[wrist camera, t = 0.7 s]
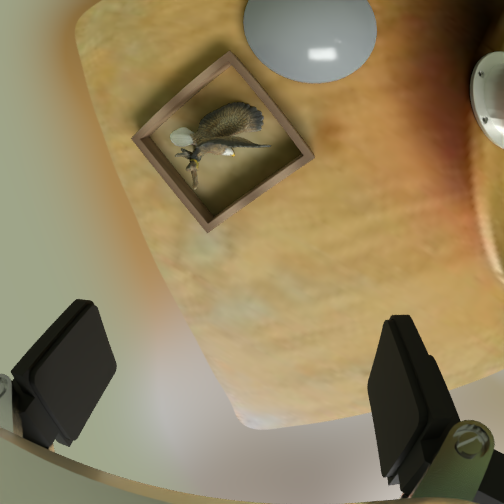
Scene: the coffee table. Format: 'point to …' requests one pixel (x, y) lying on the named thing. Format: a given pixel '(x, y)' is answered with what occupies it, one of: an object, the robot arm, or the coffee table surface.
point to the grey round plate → (311, 37)
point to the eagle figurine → (218, 134)
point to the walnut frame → (174, 177)
